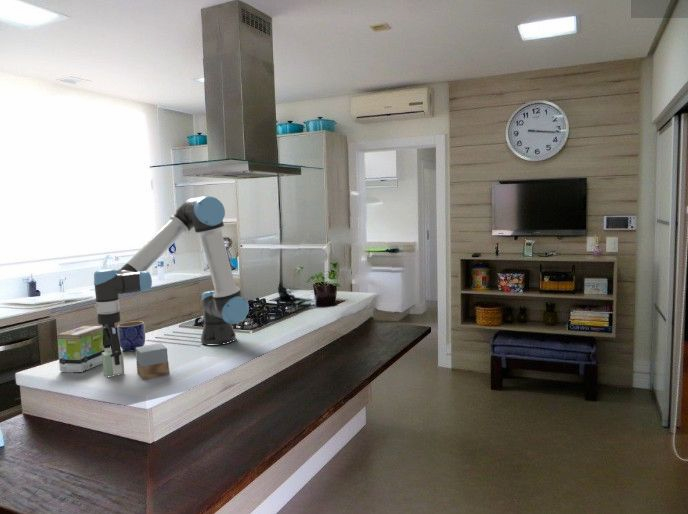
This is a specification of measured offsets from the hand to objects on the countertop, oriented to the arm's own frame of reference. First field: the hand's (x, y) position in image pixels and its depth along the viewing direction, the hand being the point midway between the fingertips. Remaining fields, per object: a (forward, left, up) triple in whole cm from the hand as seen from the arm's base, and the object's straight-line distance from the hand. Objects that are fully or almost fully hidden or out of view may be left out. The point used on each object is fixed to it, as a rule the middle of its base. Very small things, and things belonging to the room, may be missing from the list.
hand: (113, 369), depth 189 cm
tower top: (-11, +11, +3) cm, 16 cm away
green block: (0, 0, -2) cm, 2 cm away
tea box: (+7, -18, -2) cm, 19 cm away
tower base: (-11, +11, -2) cm, 16 cm away
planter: (-14, -32, -2) cm, 35 cm away
